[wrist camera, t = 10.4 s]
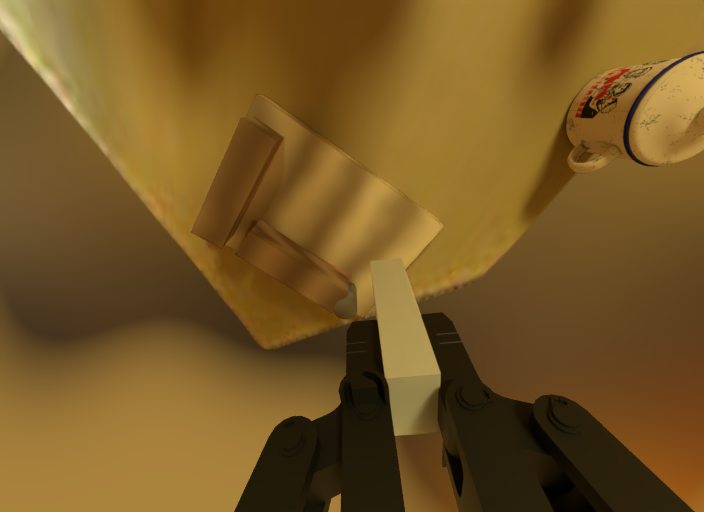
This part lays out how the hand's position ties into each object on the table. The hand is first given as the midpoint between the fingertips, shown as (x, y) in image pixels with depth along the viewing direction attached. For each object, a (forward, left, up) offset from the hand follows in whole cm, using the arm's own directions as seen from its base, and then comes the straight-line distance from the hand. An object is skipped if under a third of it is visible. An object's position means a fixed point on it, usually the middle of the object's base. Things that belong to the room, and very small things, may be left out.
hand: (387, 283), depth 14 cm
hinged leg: (0, -13, -21) cm, 25 cm away
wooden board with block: (-2, -8, -24) cm, 26 cm away
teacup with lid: (+18, +20, -25) cm, 37 cm away
